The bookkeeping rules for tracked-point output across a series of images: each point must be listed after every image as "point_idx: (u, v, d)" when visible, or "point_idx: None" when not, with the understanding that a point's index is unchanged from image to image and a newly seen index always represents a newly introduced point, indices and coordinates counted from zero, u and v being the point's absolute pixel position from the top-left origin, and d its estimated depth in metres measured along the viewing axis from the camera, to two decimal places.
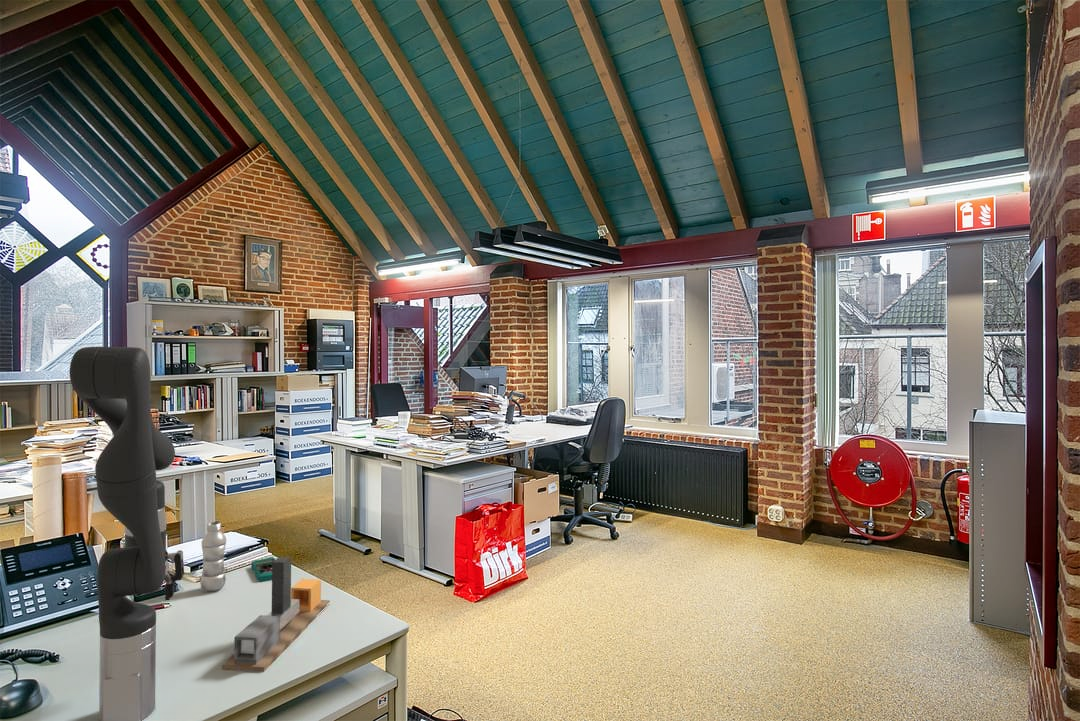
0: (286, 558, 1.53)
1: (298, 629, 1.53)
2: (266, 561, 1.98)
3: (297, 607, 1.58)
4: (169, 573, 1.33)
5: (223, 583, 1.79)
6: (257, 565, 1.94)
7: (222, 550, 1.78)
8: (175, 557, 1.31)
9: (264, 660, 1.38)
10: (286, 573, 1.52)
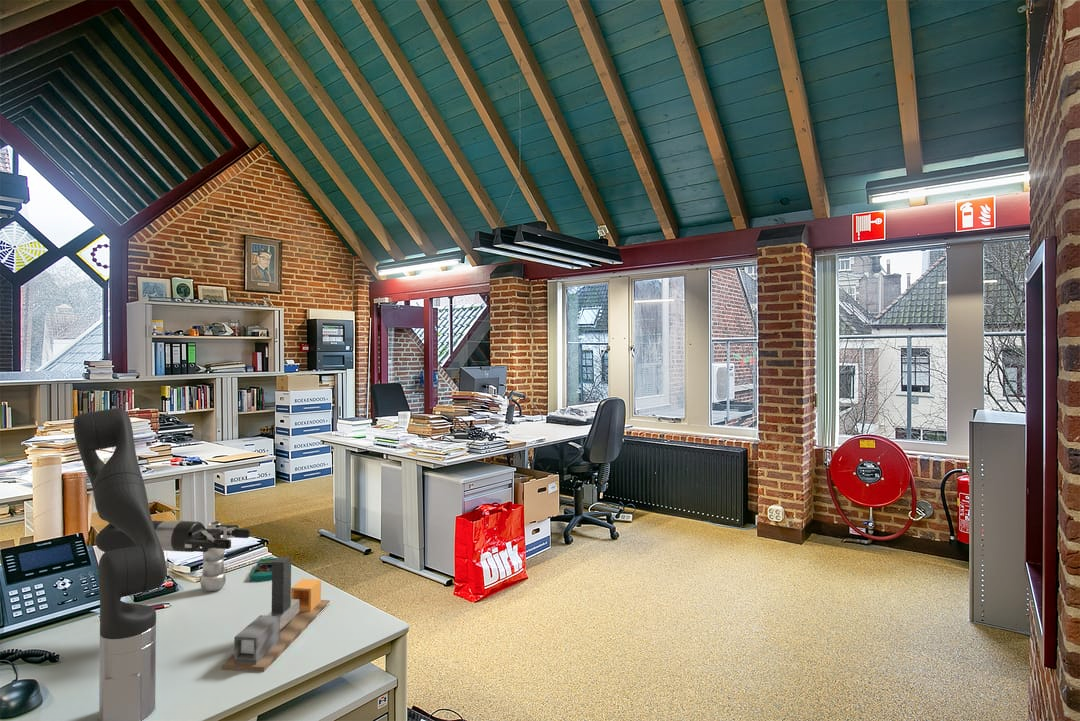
0: (286, 558, 1.53)
1: (298, 629, 1.53)
2: (271, 560, 1.99)
3: (297, 607, 1.58)
4: (229, 535, 1.58)
5: (223, 583, 1.79)
6: (259, 564, 1.95)
7: (222, 550, 1.78)
8: (217, 525, 1.59)
9: (264, 660, 1.38)
10: (286, 573, 1.52)
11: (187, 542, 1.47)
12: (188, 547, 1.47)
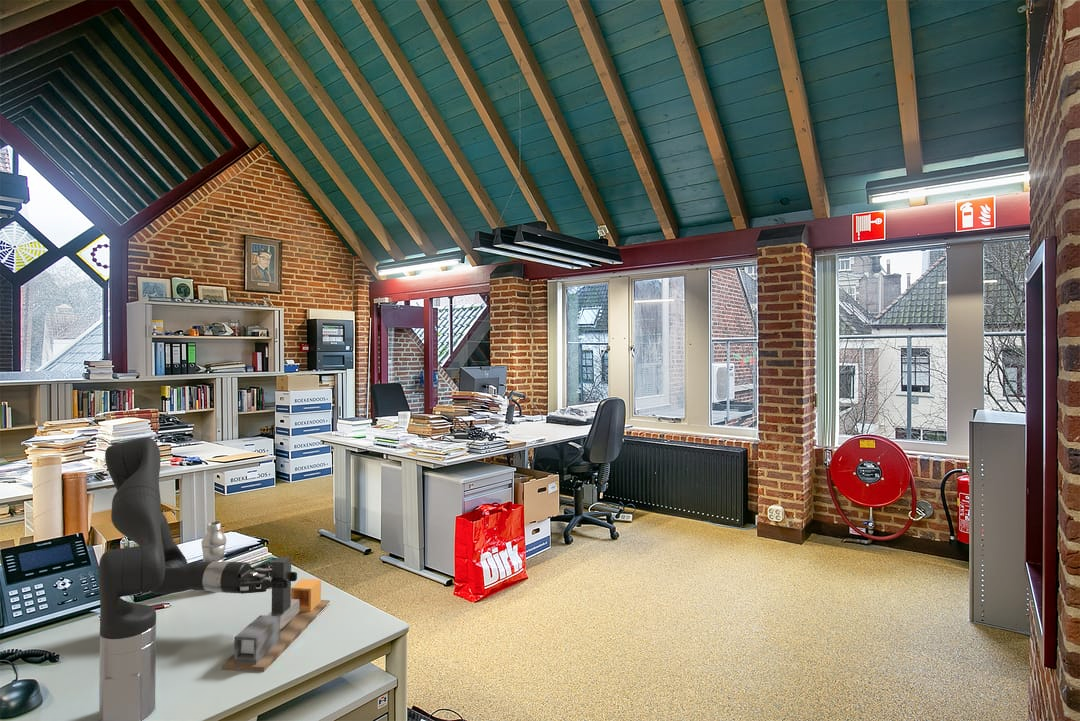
0: (286, 558, 1.53)
1: (298, 629, 1.53)
2: None
3: (297, 607, 1.58)
4: None
5: None
6: (264, 562, 1.96)
7: (222, 550, 1.78)
8: (267, 565, 1.58)
9: (264, 660, 1.38)
10: (286, 573, 1.52)
11: (244, 585, 1.46)
12: (245, 589, 1.46)
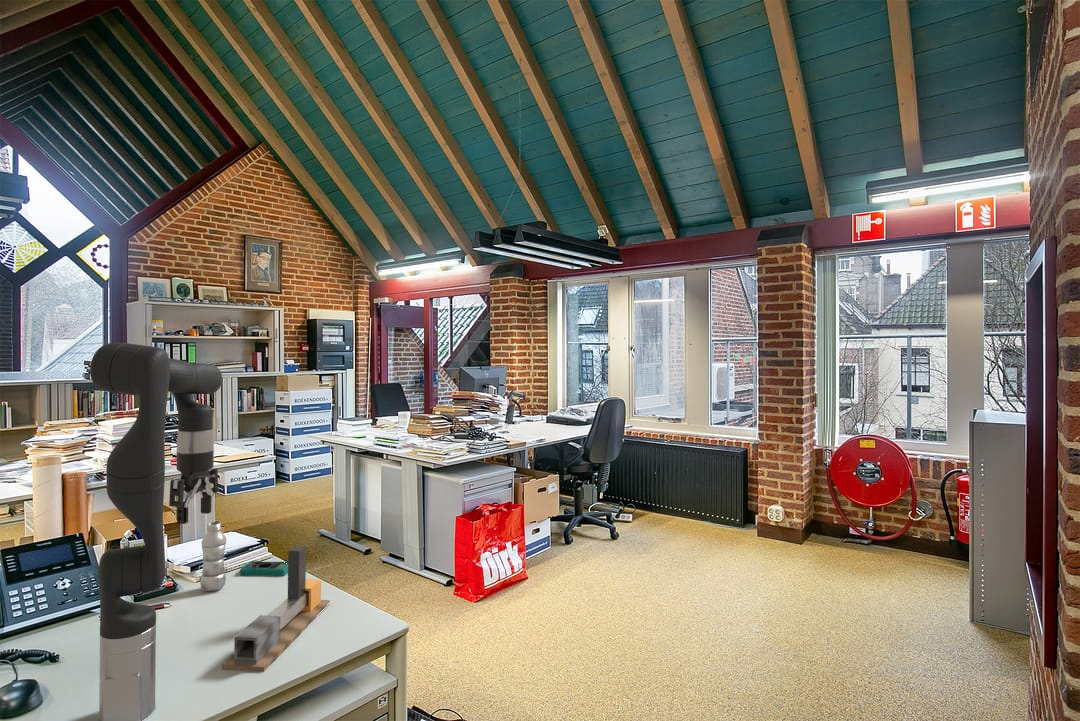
0: (301, 547, 1.61)
1: (298, 629, 1.53)
2: (282, 567, 1.93)
3: None
4: None
5: (223, 583, 1.79)
6: (277, 562, 1.96)
7: (222, 550, 1.78)
8: (215, 471, 1.45)
9: (264, 660, 1.38)
10: (301, 561, 1.60)
11: (179, 484, 1.32)
12: (174, 486, 1.32)
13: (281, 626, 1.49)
